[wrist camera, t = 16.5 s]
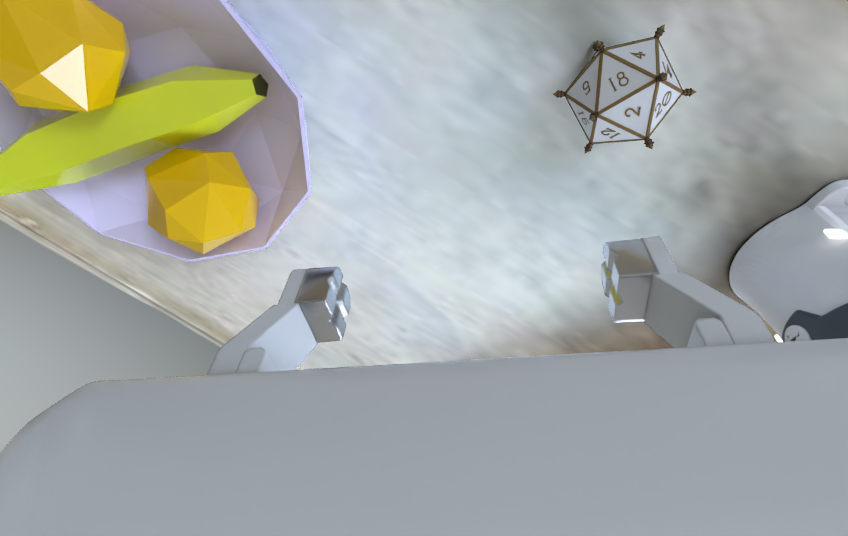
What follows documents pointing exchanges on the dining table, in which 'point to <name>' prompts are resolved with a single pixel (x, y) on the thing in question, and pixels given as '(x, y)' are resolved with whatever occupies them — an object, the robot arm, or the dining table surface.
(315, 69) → the dining table surface
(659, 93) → the game die
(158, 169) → the fruit bowl
